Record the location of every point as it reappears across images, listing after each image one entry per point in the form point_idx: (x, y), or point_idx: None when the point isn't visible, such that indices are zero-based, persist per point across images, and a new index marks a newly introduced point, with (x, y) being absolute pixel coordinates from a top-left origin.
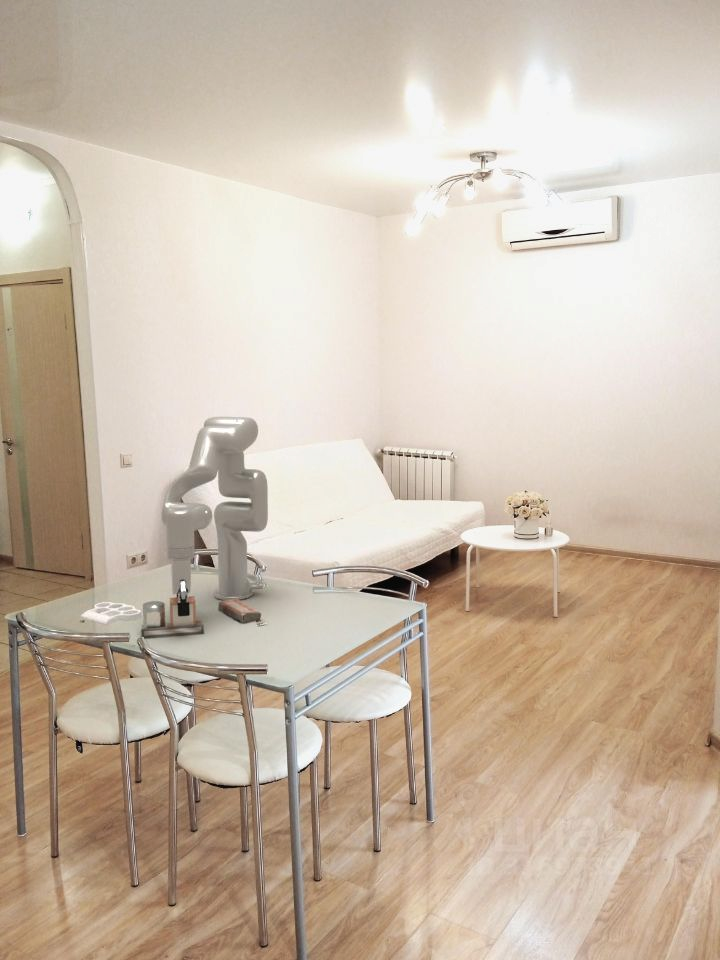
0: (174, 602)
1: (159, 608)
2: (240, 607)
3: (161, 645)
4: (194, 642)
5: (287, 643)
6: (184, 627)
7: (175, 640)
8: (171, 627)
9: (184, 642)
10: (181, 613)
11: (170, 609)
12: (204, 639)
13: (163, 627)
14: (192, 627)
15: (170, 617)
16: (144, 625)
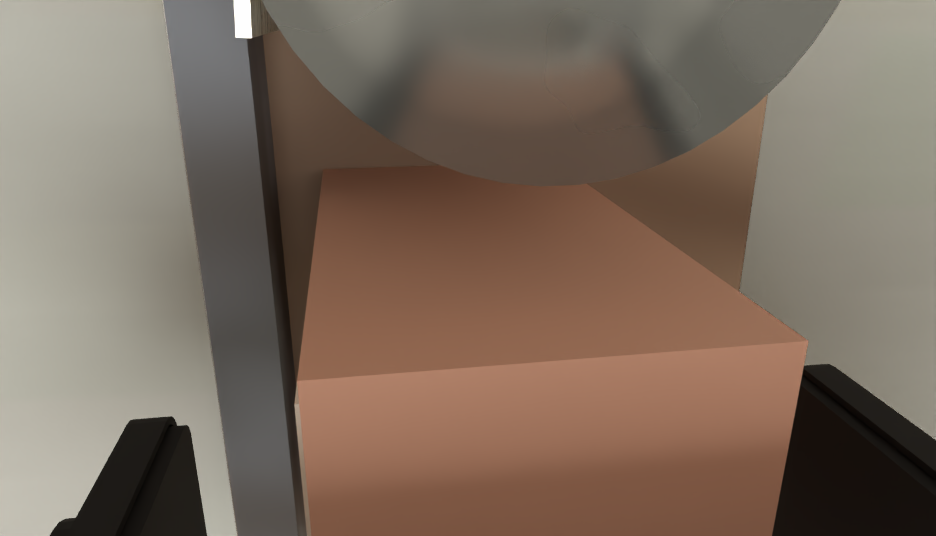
0: (313, 497)
1: (285, 34)
2: None
3: (29, 32)
4: (119, 418)
5: None
6: (220, 388)
7: None
8: (218, 212)
9: (130, 315)
10: (65, 522)
11: (312, 305)
12: (211, 506)
13: (230, 83)
14: (231, 479)
15: (316, 239)
16: None
